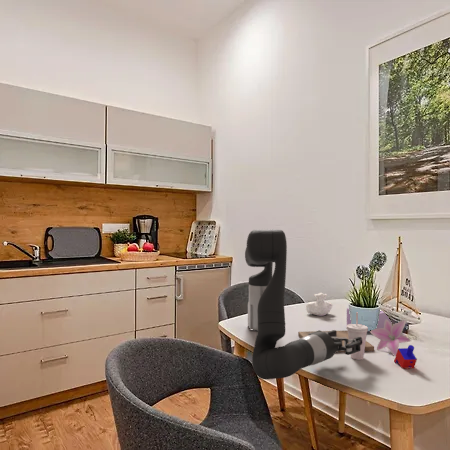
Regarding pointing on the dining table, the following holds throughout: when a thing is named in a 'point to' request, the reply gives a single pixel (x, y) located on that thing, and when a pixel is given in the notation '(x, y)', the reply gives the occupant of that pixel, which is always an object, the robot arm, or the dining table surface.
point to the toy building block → (406, 357)
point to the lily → (390, 336)
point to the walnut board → (339, 334)
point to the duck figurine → (319, 305)
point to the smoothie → (357, 331)
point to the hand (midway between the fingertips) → (347, 336)
